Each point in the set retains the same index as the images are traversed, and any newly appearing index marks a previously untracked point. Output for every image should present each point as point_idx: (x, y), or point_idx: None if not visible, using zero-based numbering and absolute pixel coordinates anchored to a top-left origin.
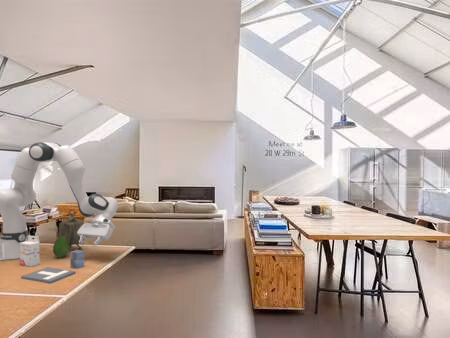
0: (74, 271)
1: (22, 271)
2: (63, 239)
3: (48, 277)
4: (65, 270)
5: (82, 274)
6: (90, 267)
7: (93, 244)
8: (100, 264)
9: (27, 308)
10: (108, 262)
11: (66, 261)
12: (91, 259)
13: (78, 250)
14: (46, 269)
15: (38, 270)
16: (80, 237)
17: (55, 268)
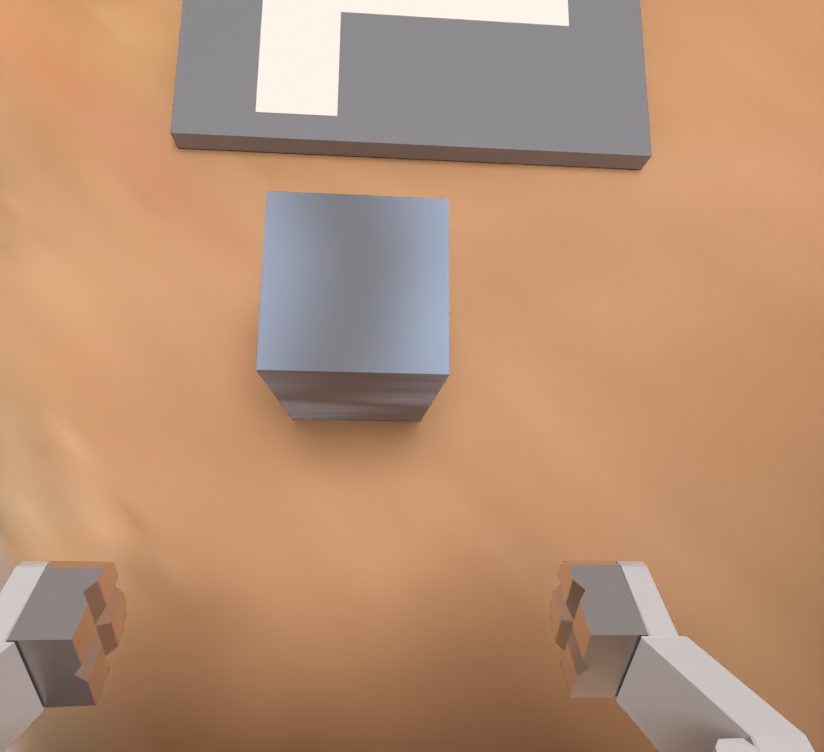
0: (180, 122)
1: (818, 30)
2: None
3: None
4: (323, 118)
5: (64, 143)
6: (155, 399)
7: (106, 577)
8: None
9: None
10: None
11: (707, 504)
12: (432, 747)
13: (389, 343)
14: (578, 81)
15: (633, 31)
16: (744, 694)
17: (510, 142)
